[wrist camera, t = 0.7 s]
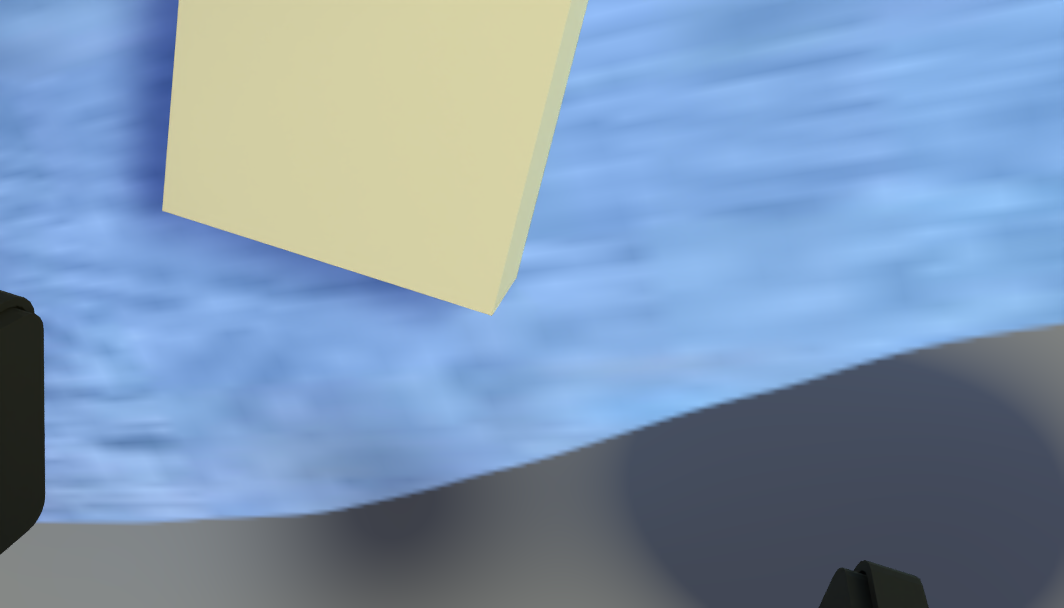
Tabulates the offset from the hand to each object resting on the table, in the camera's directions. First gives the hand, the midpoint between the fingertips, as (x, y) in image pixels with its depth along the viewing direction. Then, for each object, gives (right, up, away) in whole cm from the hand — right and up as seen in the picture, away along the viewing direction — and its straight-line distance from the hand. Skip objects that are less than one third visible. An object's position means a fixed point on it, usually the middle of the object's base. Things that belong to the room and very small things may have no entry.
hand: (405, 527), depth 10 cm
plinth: (-4, +11, +24) cm, 27 cm away
